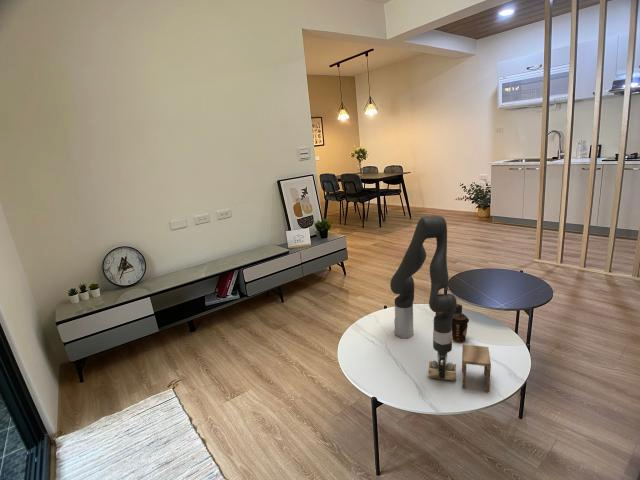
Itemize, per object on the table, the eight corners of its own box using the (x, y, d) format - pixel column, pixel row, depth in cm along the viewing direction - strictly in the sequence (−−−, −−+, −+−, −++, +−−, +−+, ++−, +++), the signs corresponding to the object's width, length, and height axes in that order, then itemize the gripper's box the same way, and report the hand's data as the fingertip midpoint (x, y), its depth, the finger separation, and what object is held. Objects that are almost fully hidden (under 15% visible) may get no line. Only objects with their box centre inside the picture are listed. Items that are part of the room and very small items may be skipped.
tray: (428, 377, 152) (428, 365, 150) (429, 368, 157) (429, 357, 156) (455, 381, 148) (456, 369, 147) (455, 372, 153) (456, 360, 152)
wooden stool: (462, 388, 145) (463, 360, 141) (462, 370, 155) (462, 344, 152) (489, 392, 141) (490, 364, 137) (487, 373, 152) (488, 347, 148)
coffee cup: (465, 334, 182) (466, 312, 178) (470, 344, 174) (471, 320, 170) (448, 335, 183) (448, 312, 179) (452, 344, 175) (452, 320, 171)
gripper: (434, 328, 156) (434, 361, 160) (432, 347, 143) (432, 382, 147) (452, 330, 153) (451, 364, 158) (451, 349, 140) (451, 385, 145)
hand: (442, 372), depth 152 cm, fingers closed on tray, 6 cm apart
